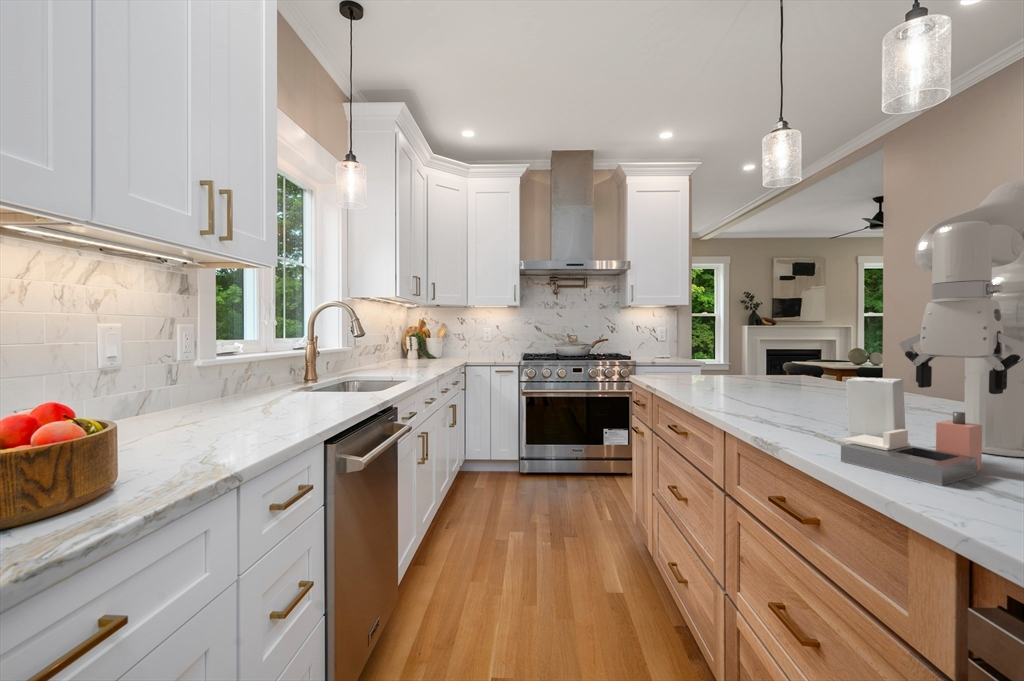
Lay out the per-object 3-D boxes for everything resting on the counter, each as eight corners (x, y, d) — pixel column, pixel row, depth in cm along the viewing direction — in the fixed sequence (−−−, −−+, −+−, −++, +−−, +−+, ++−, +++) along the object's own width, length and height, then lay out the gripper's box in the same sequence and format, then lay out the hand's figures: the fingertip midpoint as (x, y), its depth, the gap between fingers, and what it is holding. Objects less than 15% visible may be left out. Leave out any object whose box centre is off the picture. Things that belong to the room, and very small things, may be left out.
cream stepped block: (864, 437, 92) (865, 422, 92) (909, 445, 85) (910, 429, 85) (842, 441, 89) (842, 425, 89) (887, 450, 82) (887, 433, 82)
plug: (948, 463, 84) (949, 409, 84) (981, 469, 80) (982, 413, 80) (935, 466, 83) (936, 411, 82) (968, 473, 78) (969, 415, 78)
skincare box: (906, 452, 91) (907, 379, 91) (895, 457, 88) (896, 381, 88) (857, 444, 98) (857, 375, 98) (845, 448, 95) (845, 377, 95)
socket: (876, 453, 91) (876, 438, 91) (977, 475, 77) (977, 457, 77) (840, 461, 86) (840, 445, 86) (941, 485, 72) (942, 467, 72)
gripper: (1041, 290, 74) (1038, 395, 74) (912, 298, 90) (910, 384, 90) (1021, 288, 71) (1018, 397, 71) (891, 296, 87) (889, 385, 87)
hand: (958, 390), depth 81 cm, fingers open, 9 cm apart
